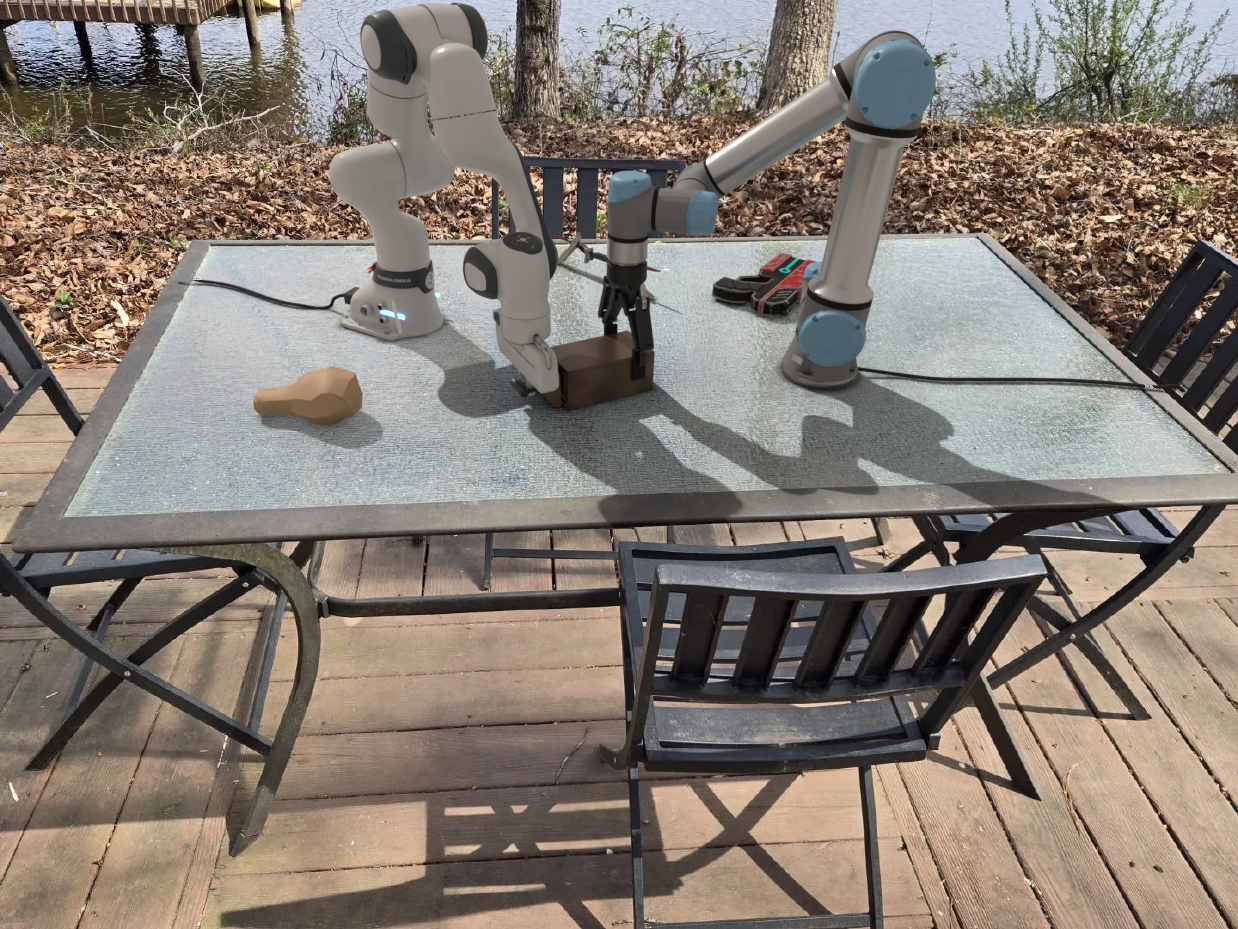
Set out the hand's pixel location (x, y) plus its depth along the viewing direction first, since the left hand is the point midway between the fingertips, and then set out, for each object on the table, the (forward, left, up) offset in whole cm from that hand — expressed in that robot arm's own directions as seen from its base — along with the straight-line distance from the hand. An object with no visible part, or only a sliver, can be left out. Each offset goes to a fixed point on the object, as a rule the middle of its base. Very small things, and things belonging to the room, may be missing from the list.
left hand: (528, 392), depth 166 cm
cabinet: (+10, +11, -3) cm, 15 cm away
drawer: (+6, +7, -2) cm, 9 cm away
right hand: (+14, +15, +1) cm, 21 cm away
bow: (-8, +64, -3) cm, 64 cm away
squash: (-36, -18, -3) cm, 40 cm away
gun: (+34, +72, -3) cm, 80 cm away
